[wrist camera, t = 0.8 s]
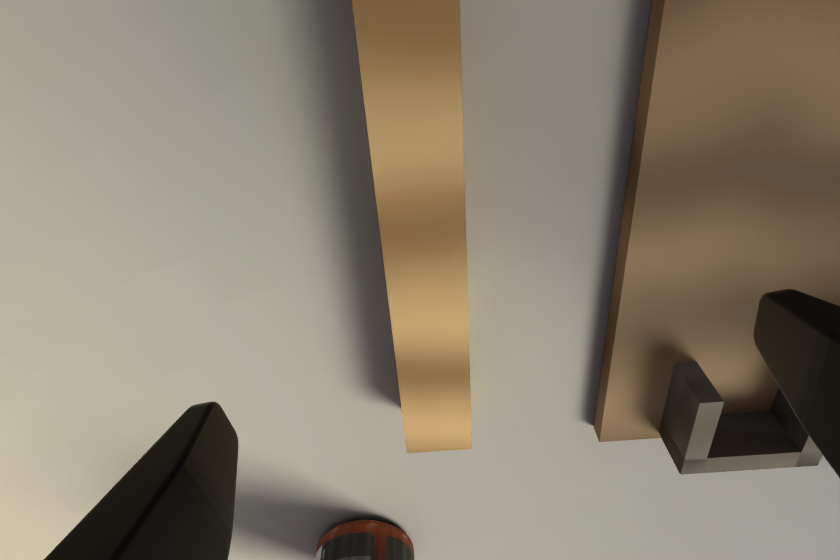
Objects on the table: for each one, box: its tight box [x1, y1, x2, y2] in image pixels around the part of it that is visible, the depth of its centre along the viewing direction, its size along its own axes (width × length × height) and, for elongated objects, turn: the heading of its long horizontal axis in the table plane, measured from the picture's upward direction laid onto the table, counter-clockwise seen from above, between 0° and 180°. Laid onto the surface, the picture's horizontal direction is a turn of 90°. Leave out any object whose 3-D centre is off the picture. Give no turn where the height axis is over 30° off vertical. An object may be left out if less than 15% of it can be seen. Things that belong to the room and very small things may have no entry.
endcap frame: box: [594, 0, 840, 474], centre depth 19 cm, size 26×12×4 cm, turn 4°
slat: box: [352, 0, 472, 453], centre depth 20 cm, size 22×3×3 cm, turn 4°
